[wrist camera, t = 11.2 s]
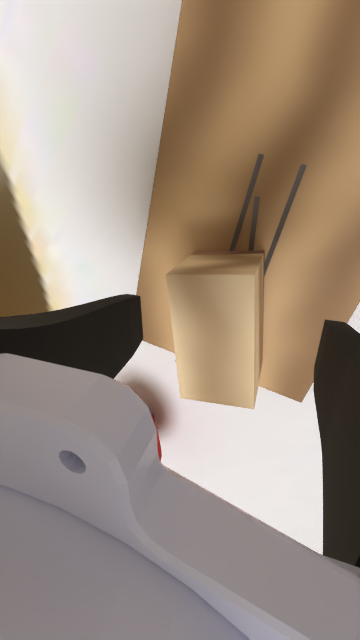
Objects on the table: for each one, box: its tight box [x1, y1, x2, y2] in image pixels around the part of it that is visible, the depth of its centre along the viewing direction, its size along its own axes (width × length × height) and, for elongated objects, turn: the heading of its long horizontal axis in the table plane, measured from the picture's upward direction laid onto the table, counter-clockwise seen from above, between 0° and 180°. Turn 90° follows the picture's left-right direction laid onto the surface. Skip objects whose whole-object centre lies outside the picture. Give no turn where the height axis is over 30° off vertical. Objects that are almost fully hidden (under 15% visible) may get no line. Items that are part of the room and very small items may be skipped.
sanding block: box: [166, 250, 265, 409], centre depth 19 cm, size 4×8×5 cm, turn 5°
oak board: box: [136, 0, 360, 402], centre depth 18 cm, size 14×22×1 cm, turn 167°
